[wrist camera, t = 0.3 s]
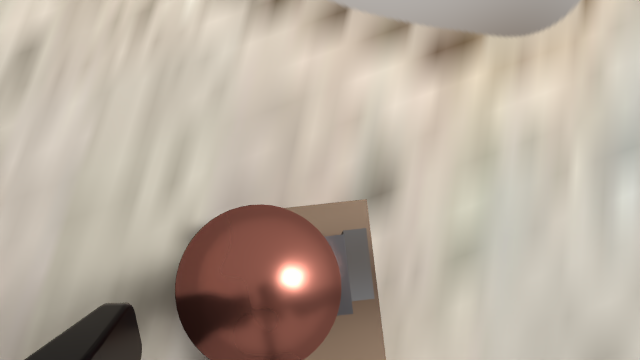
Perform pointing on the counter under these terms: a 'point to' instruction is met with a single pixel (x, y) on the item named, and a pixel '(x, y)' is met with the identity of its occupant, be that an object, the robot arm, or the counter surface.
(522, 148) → the counter surface
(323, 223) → the stand
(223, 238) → the nutcracker lever
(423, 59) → the counter surface
